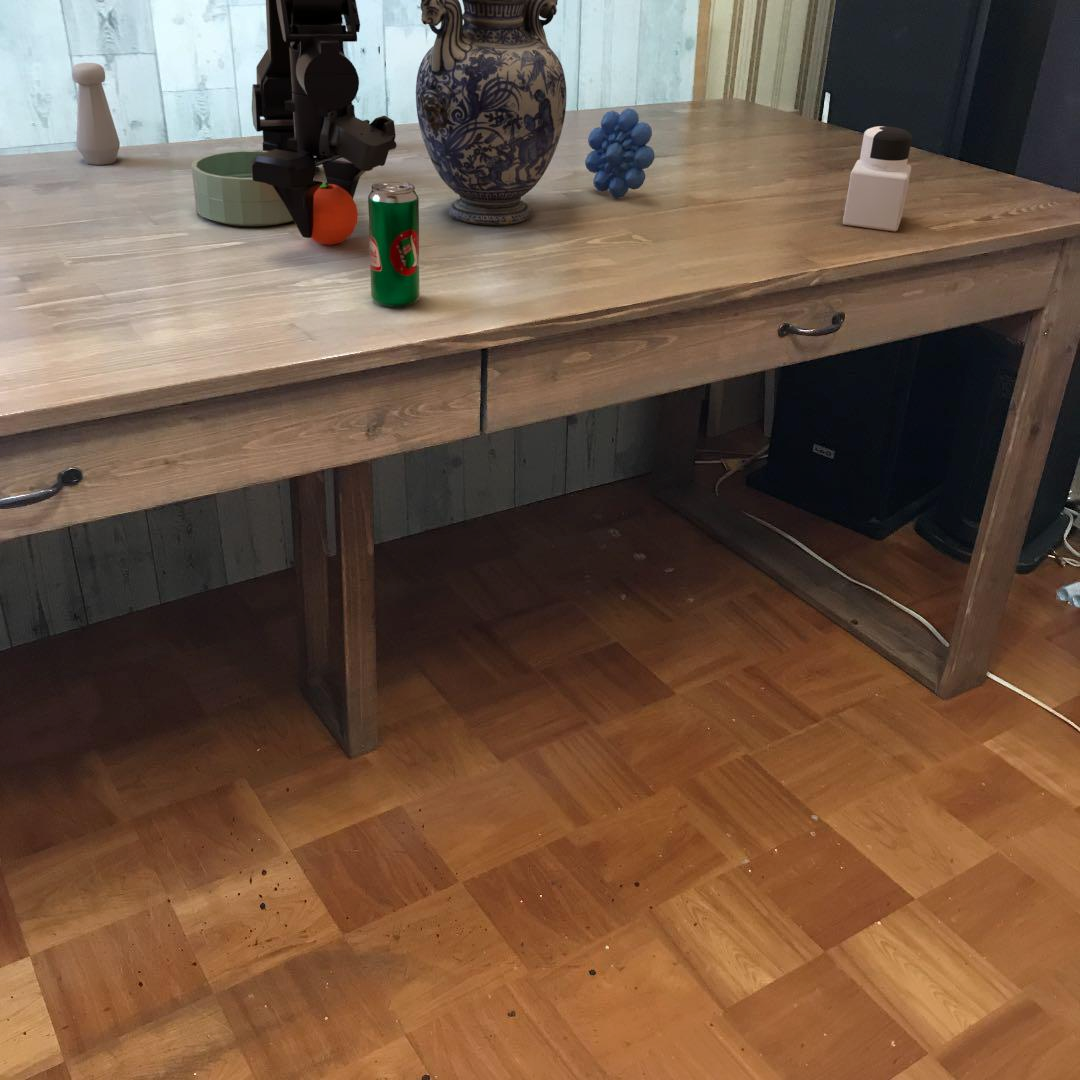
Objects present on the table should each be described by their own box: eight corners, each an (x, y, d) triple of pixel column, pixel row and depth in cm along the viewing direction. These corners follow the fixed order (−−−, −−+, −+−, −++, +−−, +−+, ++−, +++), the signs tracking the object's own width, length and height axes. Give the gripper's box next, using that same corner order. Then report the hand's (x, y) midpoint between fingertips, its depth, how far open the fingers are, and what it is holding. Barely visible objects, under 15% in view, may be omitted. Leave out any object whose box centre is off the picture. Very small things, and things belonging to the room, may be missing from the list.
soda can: (372, 292, 130) (368, 179, 123) (419, 293, 130) (418, 180, 124) (370, 309, 125) (366, 192, 119) (419, 309, 126) (418, 193, 120)
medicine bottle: (901, 218, 163) (919, 126, 157) (897, 232, 157) (915, 137, 151) (848, 211, 165) (863, 120, 159) (841, 225, 159) (857, 131, 153)
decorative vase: (500, 186, 169) (505, -35, 154) (597, 216, 158) (612, -18, 143) (378, 211, 156) (372, -28, 141) (475, 247, 145) (478, -8, 130)
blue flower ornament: (668, 202, 165) (677, 110, 159) (636, 210, 161) (644, 117, 155) (606, 183, 172) (612, 95, 166) (573, 191, 168) (578, 101, 162)
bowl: (244, 191, 161) (241, 145, 158) (334, 208, 156) (331, 160, 153) (172, 216, 150) (167, 167, 147) (266, 235, 145) (262, 185, 142)
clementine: (280, 245, 142) (276, 184, 138) (311, 230, 148) (308, 171, 144) (340, 255, 140) (337, 194, 136) (369, 240, 145) (367, 180, 142)
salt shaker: (108, 168, 168) (95, 69, 162) (71, 164, 169) (55, 65, 162) (129, 158, 173) (117, 62, 167) (92, 154, 174) (78, 59, 167)
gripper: (330, 115, 125) (336, 263, 133) (423, 87, 139) (424, 222, 147) (242, 101, 129) (254, 245, 137) (342, 76, 143) (347, 207, 151)
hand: (324, 229), depth 143 cm, fingers closed on clementine, 7 cm apart
